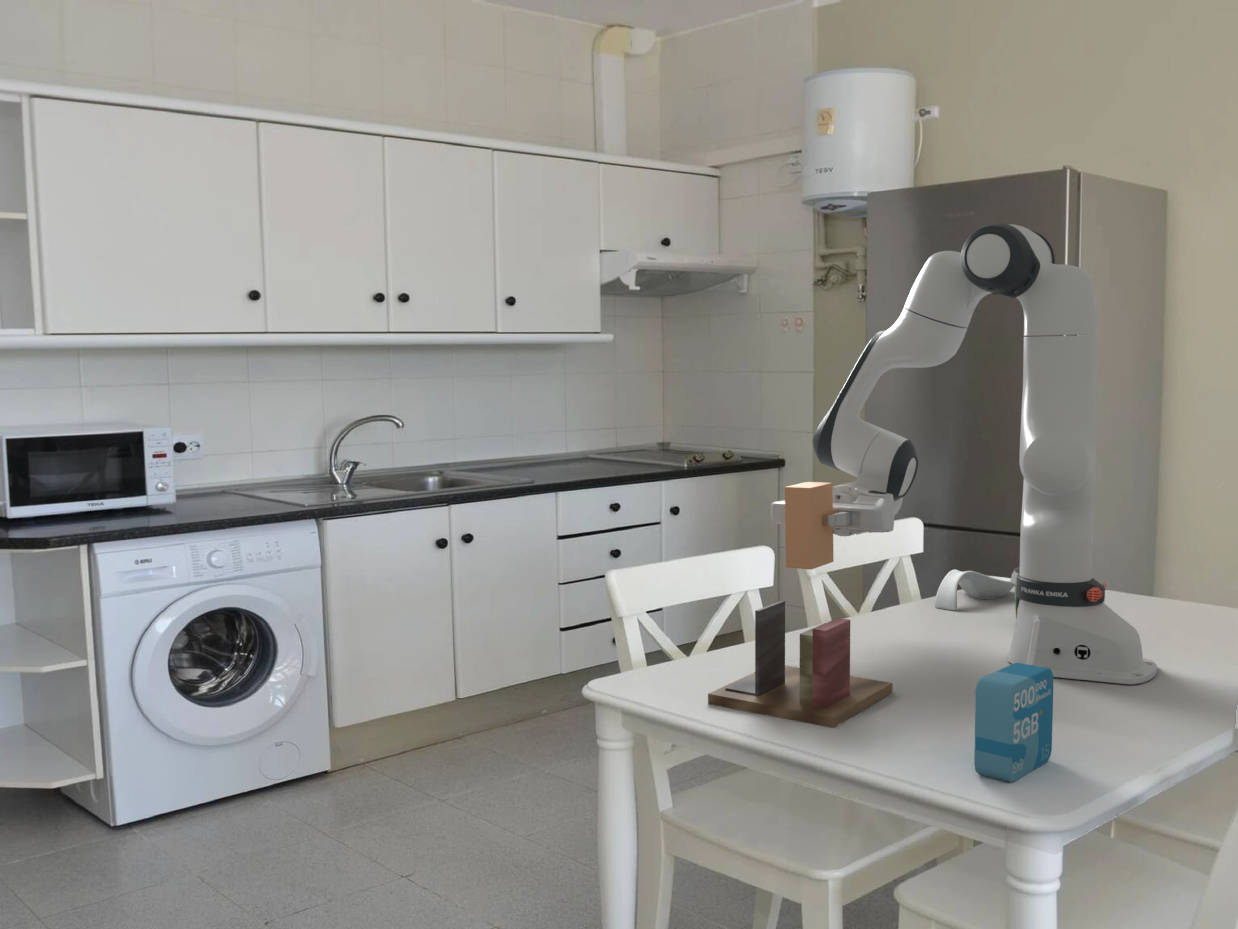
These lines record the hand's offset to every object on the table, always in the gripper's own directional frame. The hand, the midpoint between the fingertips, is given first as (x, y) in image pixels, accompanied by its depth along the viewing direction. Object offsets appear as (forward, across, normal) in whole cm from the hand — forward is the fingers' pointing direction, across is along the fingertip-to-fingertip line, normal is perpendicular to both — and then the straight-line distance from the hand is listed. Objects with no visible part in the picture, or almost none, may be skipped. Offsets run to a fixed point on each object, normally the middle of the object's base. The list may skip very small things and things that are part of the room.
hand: (809, 520), depth 195 cm
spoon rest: (-62, +5, +24) cm, 67 cm away
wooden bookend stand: (+18, +8, +24) cm, 31 cm away
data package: (+30, +42, +25) cm, 58 cm away
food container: (-48, +20, +24) cm, 57 cm away
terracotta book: (0, 0, +7) cm, 7 cm away
